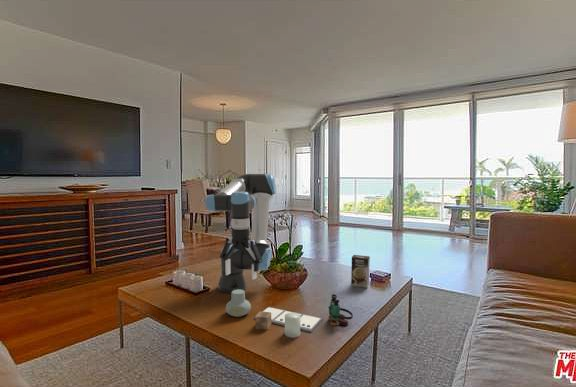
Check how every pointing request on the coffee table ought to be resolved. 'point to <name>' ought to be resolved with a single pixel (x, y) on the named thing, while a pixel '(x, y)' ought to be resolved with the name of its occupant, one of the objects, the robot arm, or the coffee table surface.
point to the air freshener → (238, 304)
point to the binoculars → (337, 312)
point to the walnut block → (263, 320)
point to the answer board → (278, 315)
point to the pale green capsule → (292, 325)
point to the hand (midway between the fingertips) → (240, 276)
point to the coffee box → (360, 271)
